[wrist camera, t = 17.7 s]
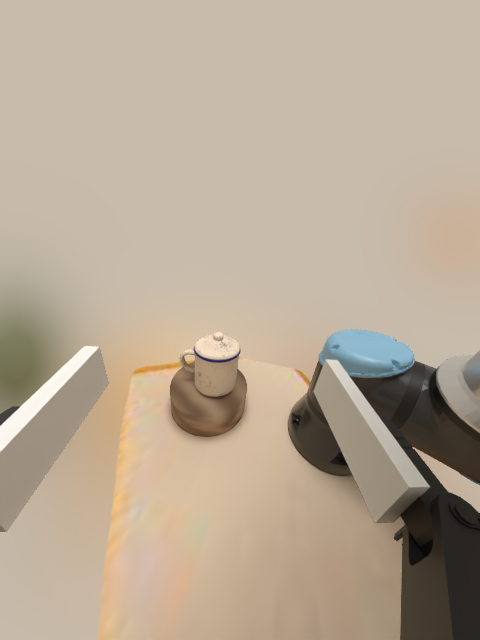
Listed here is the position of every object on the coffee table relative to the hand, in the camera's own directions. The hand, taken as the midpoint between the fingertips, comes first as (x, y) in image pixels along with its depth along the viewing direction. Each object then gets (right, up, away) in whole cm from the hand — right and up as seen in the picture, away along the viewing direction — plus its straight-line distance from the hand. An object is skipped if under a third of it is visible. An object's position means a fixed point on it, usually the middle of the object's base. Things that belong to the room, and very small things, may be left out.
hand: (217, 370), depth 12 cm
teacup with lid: (-5, -10, +31) cm, 34 cm away
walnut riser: (-6, -16, +34) cm, 38 cm away
